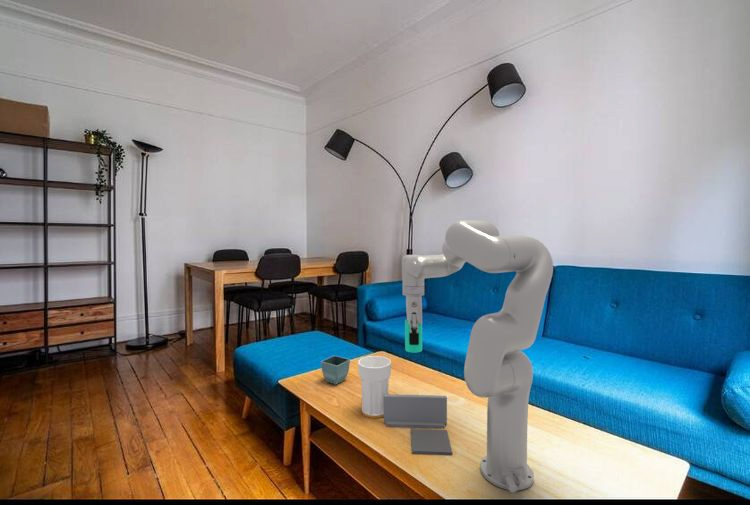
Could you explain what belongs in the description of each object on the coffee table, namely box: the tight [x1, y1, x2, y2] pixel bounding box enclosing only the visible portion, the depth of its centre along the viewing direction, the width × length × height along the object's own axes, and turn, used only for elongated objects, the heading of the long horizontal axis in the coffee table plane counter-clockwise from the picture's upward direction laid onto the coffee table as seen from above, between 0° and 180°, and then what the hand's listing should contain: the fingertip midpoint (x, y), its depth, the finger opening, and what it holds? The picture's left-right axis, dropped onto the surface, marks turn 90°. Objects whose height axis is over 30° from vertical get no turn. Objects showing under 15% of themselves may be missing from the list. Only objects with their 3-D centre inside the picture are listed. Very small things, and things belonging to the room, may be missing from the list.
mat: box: [410, 428, 453, 456], centre depth 102 cm, size 11×11×1 cm
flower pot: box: [320, 355, 351, 385], centre depth 144 cm, size 9×9×9 cm
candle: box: [404, 318, 423, 354], centre depth 122 cm, size 6×6×12 cm
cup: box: [357, 355, 392, 419], centre depth 119 cm, size 11×11×17 cm
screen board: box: [383, 393, 448, 430], centre depth 112 cm, size 5×20×9 cm, turn 86°
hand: (413, 341), depth 123 cm, fingers closed on candle, 4 cm apart
